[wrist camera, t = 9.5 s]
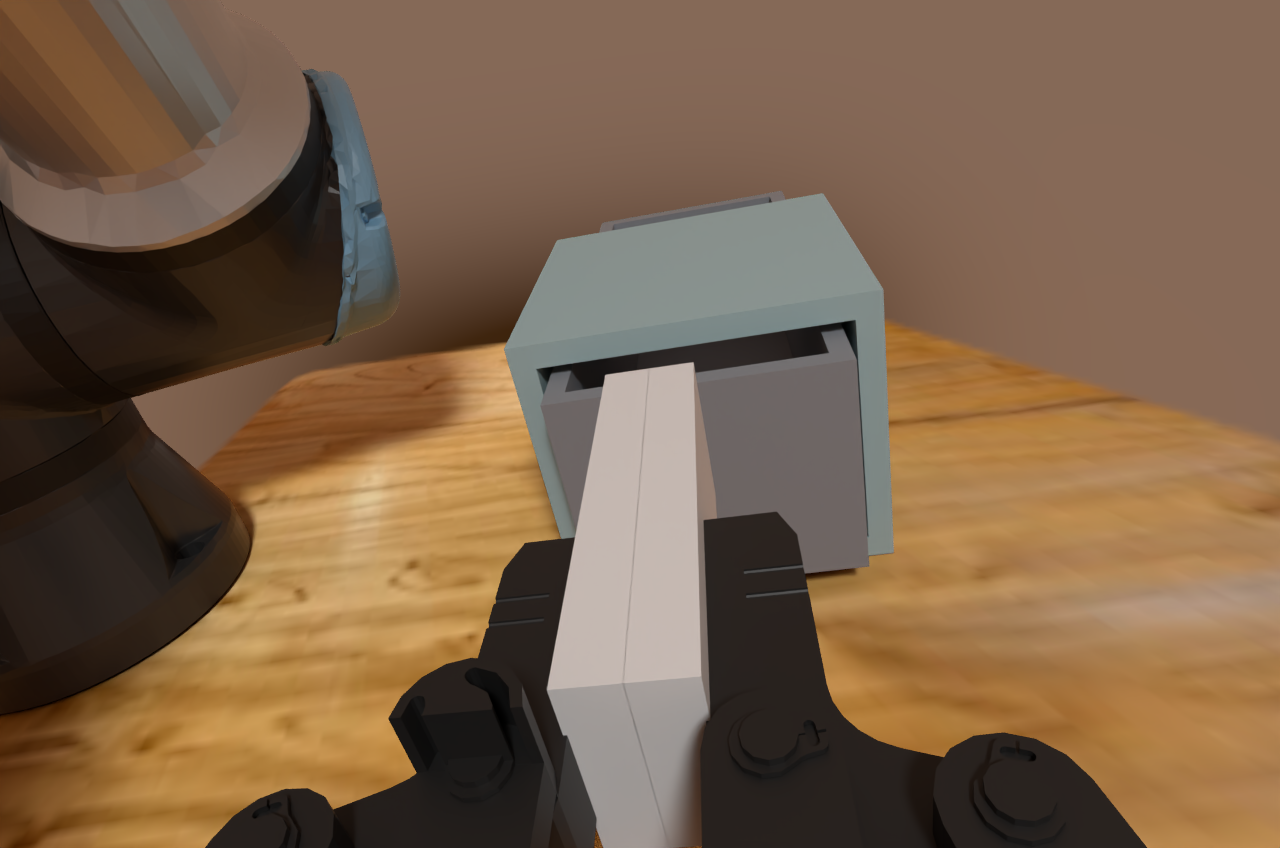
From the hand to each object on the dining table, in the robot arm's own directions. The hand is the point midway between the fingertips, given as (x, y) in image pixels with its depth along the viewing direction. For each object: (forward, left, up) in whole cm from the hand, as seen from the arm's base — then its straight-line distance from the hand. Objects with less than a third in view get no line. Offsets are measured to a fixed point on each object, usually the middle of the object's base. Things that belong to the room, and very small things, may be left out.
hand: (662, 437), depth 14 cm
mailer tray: (-18, +17, -15) cm, 29 cm away
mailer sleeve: (-16, +15, -16) cm, 27 cm away
